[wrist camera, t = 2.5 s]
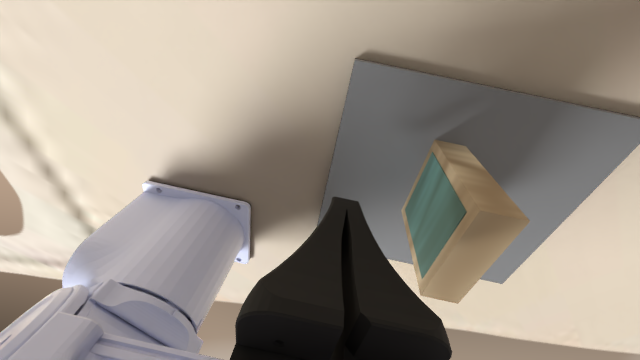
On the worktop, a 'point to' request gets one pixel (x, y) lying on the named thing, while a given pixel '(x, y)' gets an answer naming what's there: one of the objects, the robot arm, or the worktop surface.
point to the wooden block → (457, 222)
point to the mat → (483, 142)
